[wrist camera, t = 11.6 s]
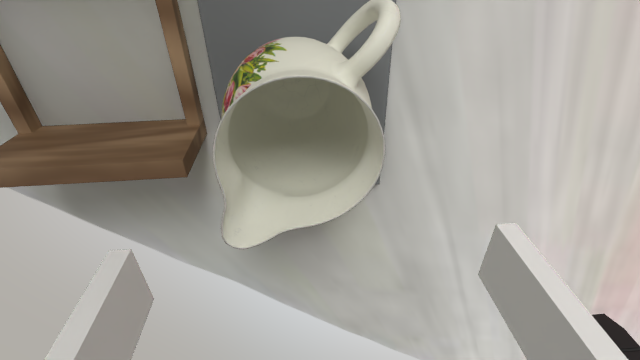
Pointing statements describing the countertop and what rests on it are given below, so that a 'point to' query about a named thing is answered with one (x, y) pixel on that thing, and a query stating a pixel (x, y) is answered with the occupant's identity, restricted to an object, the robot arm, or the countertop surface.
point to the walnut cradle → (104, 132)
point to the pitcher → (301, 131)
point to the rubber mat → (279, 22)
